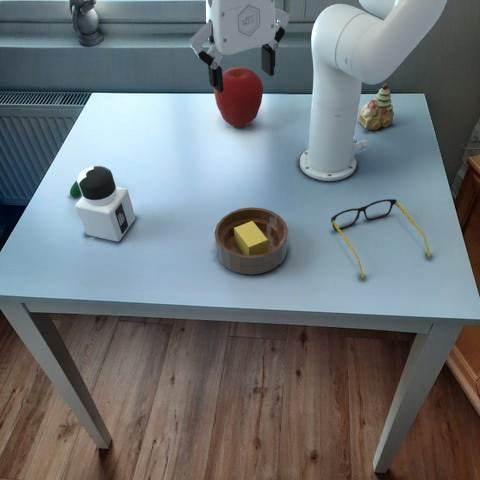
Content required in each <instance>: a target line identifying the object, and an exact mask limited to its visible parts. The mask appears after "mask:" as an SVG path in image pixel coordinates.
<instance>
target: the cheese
mask: <svg viewBox="0 0 480 480" xmlns="http://www.w3.org/2000/svg"><path fill="white" fill-rule="evenodd" d="M234 234H235V244H236V245H237V246H238V248H239V249H240V250H241V252H242V253H243V254H244V255H251V256H253V255H260V254H264V253H267V252H268V239H267V238H266V237H265V236H264V234H263V233H262V232H261V231H260V229H259V228H258V227H257V226H256V225H255V223H254V222H253V221H251V222H248V223H245V224H243V225H240V226H238V227H235V228H234Z"/></svg>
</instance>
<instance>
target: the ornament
mask: <svg viewBox="0 0 480 480" xmlns="http://www.w3.org/2000/svg"><path fill="white" fill-rule="evenodd" d="M389 86H390V85H389V84H388V83H384V84H383V85H382V88H380V89H378V92H377V93H376V95H375V97H374V98H373V99H371V100H369V101H367V102H366V103H365V104H364V105H363V107H362V108H361V109H360V110H359V112H358V122H359V123H360V125H361V126H362V127H363V128H364V129H365V130H366V131H377V130H379V129H380V128H387V127H389V126H390V124H391V123H393V120H394V116H395V112H394V105H393V104H392V102H393V101H392V99H391V98H392V94H391V90H390V89H389Z"/></svg>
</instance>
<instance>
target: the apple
mask: <svg viewBox="0 0 480 480" xmlns="http://www.w3.org/2000/svg"><path fill="white" fill-rule="evenodd" d="M222 75H223V88H224V91H223V92H222V93H219V92H218V91H217V90H216V89H215V88H214V90H213V93H214V99H215V103H216V106H217V108H218V111H219V113H220V115H221V117H222V119H223V121H224V122H226V123H227V124H228V125H230V126H231V127H233V128H237V129H239V128H243V127H247V125H249V124H250V123H252V122H253V121H254V120H255V119H256V118H257V117H258V114H259V110H260V108H261V106H262V103H263V102H262V101H263V93H264V86H263V83H262V81H261V78H260V77H259V75H258V74H257V73H255V72H254V71H253V70H251V69H250V68H248V67H241V66H240V67H231V68H228V69H226V70H225V71H224V72H222Z"/></svg>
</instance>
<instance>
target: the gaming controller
mask: <svg viewBox="0 0 480 480" xmlns="http://www.w3.org/2000/svg"><path fill="white" fill-rule="evenodd" d="M82 171H83V170H82ZM82 171H80V173H81V172H82ZM69 195H70V196H71V197H72V198H77V197H79V196H80V195H82V193H81V191H80V188H79V185H78V183H77V180H75V181H74V182H73V184H72V185H71V187H70V190H69Z"/></svg>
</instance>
